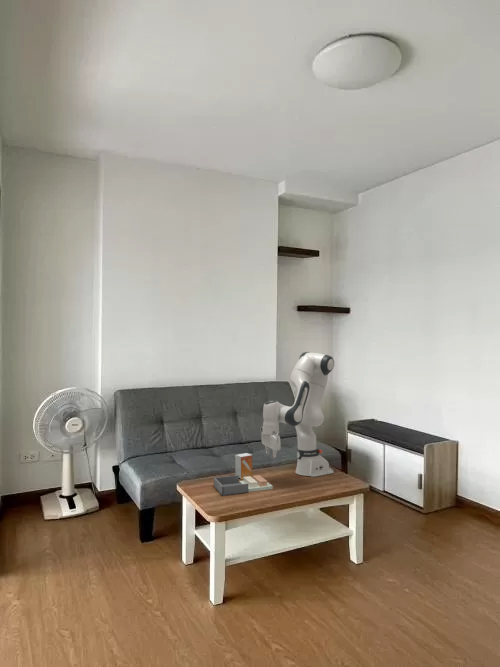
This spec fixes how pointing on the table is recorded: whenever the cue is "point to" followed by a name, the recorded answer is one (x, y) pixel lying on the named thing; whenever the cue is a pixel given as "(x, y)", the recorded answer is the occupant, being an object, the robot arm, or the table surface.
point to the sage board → (258, 487)
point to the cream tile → (250, 481)
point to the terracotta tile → (260, 480)
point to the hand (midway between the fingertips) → (270, 455)
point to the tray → (230, 485)
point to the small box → (243, 465)
